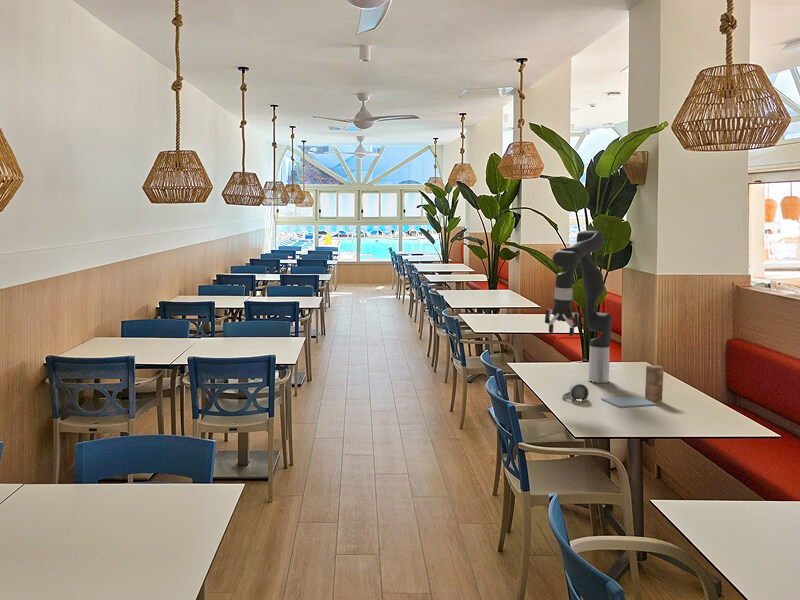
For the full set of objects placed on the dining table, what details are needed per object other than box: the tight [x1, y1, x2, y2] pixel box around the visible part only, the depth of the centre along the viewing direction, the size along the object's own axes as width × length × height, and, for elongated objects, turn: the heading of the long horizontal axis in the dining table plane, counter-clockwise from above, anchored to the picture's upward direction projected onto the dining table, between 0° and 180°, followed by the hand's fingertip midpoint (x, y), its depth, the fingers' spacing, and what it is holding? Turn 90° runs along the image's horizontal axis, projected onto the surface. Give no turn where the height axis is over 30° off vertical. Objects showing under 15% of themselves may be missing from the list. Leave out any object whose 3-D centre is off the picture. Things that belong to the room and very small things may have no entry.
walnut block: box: [644, 364, 665, 403], centre depth 309 cm, size 5×5×15 cm
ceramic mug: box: [561, 381, 590, 402], centre depth 311 cm, size 11×8×8 cm
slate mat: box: [600, 395, 658, 409], centre depth 307 cm, size 18×14×1 cm
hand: (560, 334), depth 309 cm, fingers open, 8 cm apart
